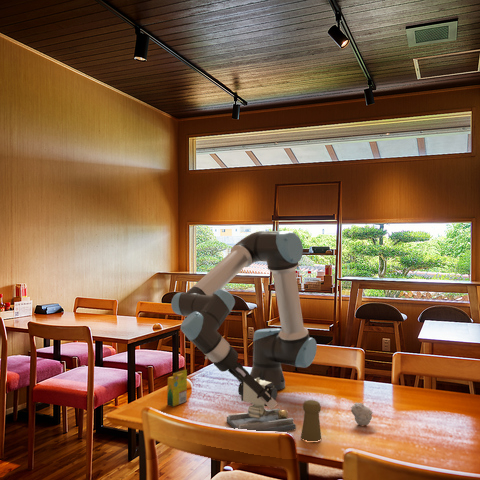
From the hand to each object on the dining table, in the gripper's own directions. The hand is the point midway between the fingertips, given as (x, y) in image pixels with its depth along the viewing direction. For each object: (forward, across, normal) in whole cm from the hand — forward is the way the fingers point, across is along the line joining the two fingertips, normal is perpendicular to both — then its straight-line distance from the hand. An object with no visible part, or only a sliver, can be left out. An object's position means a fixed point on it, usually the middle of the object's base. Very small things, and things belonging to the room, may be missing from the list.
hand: (266, 401), depth 143 cm
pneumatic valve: (+1, 0, -6) cm, 6 cm away
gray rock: (+26, +10, +15) cm, 32 cm away
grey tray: (+4, 0, -7) cm, 8 cm away
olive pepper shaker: (+11, +14, 0) cm, 18 cm away
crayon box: (-10, -28, -21) cm, 36 cm away
